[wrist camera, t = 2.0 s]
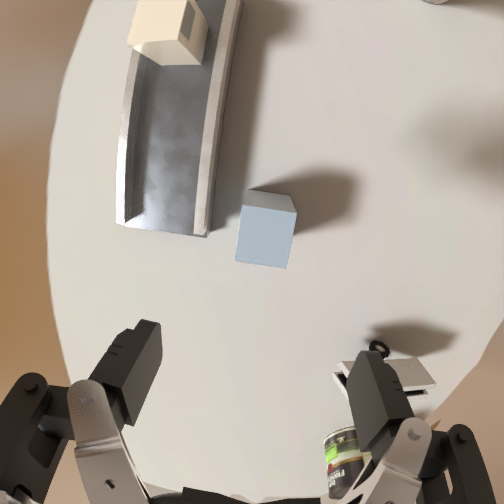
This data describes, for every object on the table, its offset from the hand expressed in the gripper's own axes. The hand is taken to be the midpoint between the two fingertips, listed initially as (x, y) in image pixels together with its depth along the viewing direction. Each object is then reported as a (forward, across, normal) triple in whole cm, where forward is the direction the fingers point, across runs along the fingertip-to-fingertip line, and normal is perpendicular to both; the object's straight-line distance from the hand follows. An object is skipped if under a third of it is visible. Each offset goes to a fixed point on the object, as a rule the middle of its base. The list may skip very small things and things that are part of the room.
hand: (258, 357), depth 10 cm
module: (+22, 0, 0) cm, 22 cm away
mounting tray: (+22, +11, -11) cm, 27 cm away
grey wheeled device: (+19, -27, +18) cm, 37 cm away
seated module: (+20, +11, -18) cm, 29 cm away
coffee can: (+22, -25, +44) cm, 55 cm away
